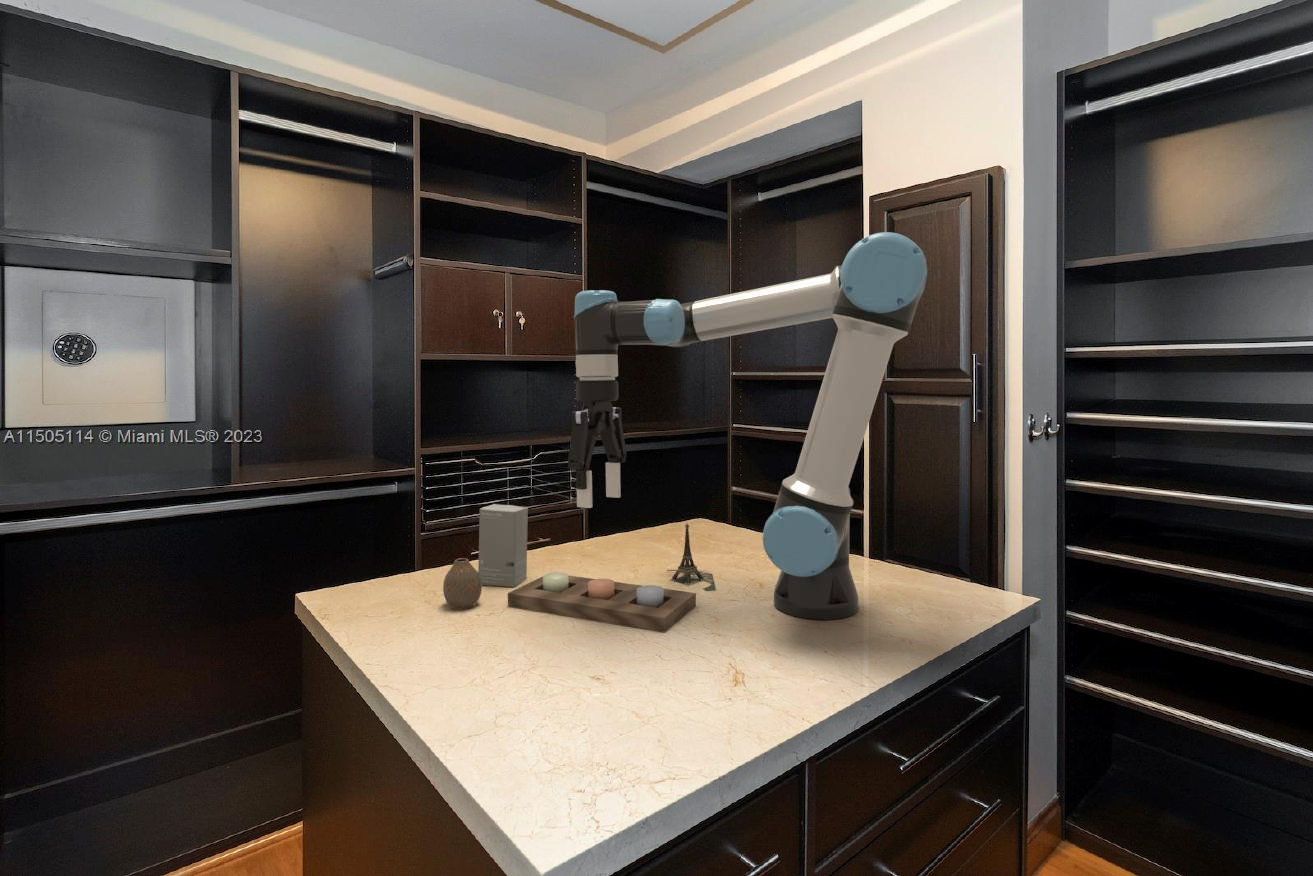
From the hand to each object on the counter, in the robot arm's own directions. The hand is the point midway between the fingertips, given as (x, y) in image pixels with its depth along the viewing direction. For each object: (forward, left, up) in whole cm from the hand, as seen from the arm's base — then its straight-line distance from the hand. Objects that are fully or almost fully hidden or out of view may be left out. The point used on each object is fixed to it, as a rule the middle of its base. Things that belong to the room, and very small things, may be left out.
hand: (599, 501), depth 127 cm
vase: (+24, +10, -20) cm, 33 cm away
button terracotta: (0, 0, -18) cm, 18 cm away
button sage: (+10, 0, -18) cm, 21 cm away
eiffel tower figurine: (-9, -21, -20) cm, 31 cm away
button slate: (-10, 0, -18) cm, 21 cm away
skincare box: (+26, -5, -20) cm, 33 cm away
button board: (0, 0, -20) cm, 20 cm away
